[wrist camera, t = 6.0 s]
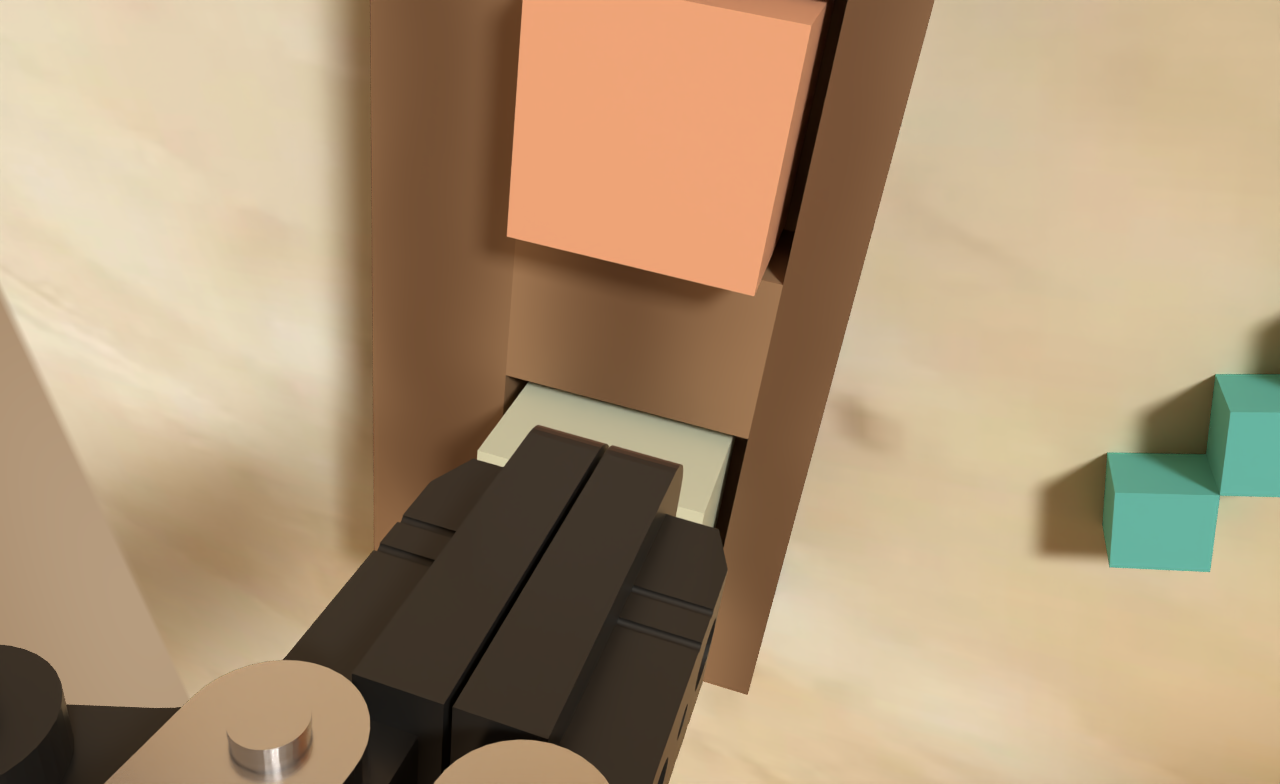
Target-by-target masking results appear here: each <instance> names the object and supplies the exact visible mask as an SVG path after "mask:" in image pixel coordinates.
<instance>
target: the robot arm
mask: <svg viewBox="0 0 1280 784" xmlns="http://www.w3.org/2000/svg"><path fill="white" fill-rule="evenodd" d="M682 480H683V465H682V464H678V463H675V462H671V461H667V460H664V459H660V458H657V457H653V456H650V455H646V454H642V453H639V452H635V451H632V450H628V449H625V448H621V447H617V446H614V445H612V446H610V447H609V445H608V444H606V443H602V442H598V441H595V440H591V439H588V438H584V437H581V436H577V435H573V434H570V433H566V432H563V431H559V430H556V429H552V428H548V427H545V426H541V425H536V426H535V427H534V428H532V430H531V431H530V432H529V433H528V435H527V436H526V437H525V439H524V440H523V441H522V443H521V444H520V445H519V447H518V448H517V449H516V451H515V452H514V454H513V455H512V456H511V458H510V459H509V460H508V462H507V463H506V464H505V466H504V467H501V466H498V465H494V464H491V463H487V462H484V461H480V460H477V459H471V460H470V461H468V462H466V463H464V464H462V465H460V466H458V467H457V468H455V469H453V470H451V471H449V472H447V473H445V474H444V475H442V476H440V477H438V478H436V479H434V480H432V481H431V482H430V483H429V484H428V485H427V486H426V487H425V489H424V490H423V491H422V492H421V494H420V495H419V496H418V497H417V498H416V500H415V501H414V502H413V503H412V504H411V506H410V507H409V508H408V509H407V510H406V512H405V513H404V514H403V517H402V520H401V522H397V523H396V524H395V525H394V526H393V527H392V529H391V530H390V531H389V532H388V533H387V535H386V536H385V537H384V538H383V540H382V541H381V542H380V545H379V548H378V550H377V551H375V550H373V552H372V553H371V554H370V555H369V556H368V558H367V559H366V560H365V561H364V563H363V564H362V565H361V566H360V567H359V569H358V570H357V571H356V572H355V573H354V575H353V576H352V577H351V578H350V580H349V581H348V582H347V583H346V584H345V586H344V587H343V588H342V589H341V590H340V592H339V593H338V594H337V595H336V596H335V598H334V599H333V600H332V601H331V603H330V604H329V605H328V606H327V607H326V609H325V610H324V611H323V612H322V613H321V615H320V616H319V617H318V618H317V619H316V621H315V622H314V623H313V624H312V626H311V627H310V628H309V629H308V630H307V632H306V633H305V634H304V635H303V636H302V638H301V639H300V640H299V641H298V642H297V644H296V645H295V646H294V647H293V649H292V650H291V651H290V652H289V653H288V655H287V656H286V657H285V658H284V659H283V660H278V661H267V662H262V663H257V664H252V665H248V666H245V667H243V668H240V669H237V670H234V671H232V672H229V673H227V674H225V675H223V676H221V677H219V678H217V679H216V680H214V681H213V682H211V683H209V684H208V685H206V686H205V687H203V688H202V689H201V690H200V691H199V692H197V693H196V694H195V695H194V696H193V697H192V698H191V699H190V700H189V701H187V703H186V704H185V705H183V706H182V707H177V708H139V707H113V706H112V707H111V706H90V705H89V706H88V705H66V702H65V698H64V693H63V689H62V685H61V681H60V679H59V677H58V675H57V673H56V671H55V670H54V669H53V667H52V666H51V665H50V664H49V663H48V662H47V661H46V660H44V659H43V658H41V657H40V656H38V655H37V654H35V653H32V652H30V651H27V650H25V649H21V648H17V647H13V646H6V645H0V784H668V783H669V780H670V777H671V774H672V771H673V768H674V765H675V761H676V759H677V757H678V754H679V751H680V748H681V745H682V742H683V739H684V736H685V733H686V729H687V726H688V724H689V721H690V718H691V715H692V712H693V709H694V706H695V703H696V700H697V697H698V694H699V691H700V688H701V685H702V682H703V678H704V674H705V669H706V665H707V660H708V656H709V651H710V647H711V643H712V638H713V634H714V629H715V625H716V620H717V616H718V611H719V607H720V603H721V598H722V594H723V589H724V585H725V580H726V576H727V572H728V568H727V563H726V559H725V555H724V550H723V546H722V541H721V537H720V533H719V529H716V528H713V527H709V526H706V525H702V524H699V523H695V522H692V521H689V520H685V519H682V518H678V517H676V513H677V508H678V502H679V497H680V491H681V486H682Z"/></svg>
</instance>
